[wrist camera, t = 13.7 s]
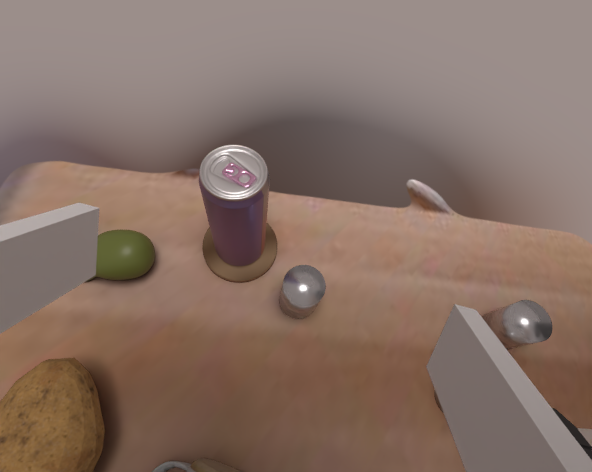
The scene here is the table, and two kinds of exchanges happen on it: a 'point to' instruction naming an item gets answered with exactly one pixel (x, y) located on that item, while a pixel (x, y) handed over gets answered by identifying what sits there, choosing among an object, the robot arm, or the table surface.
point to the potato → (51, 420)
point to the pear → (123, 255)
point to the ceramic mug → (196, 466)
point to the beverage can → (236, 202)
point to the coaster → (241, 272)
